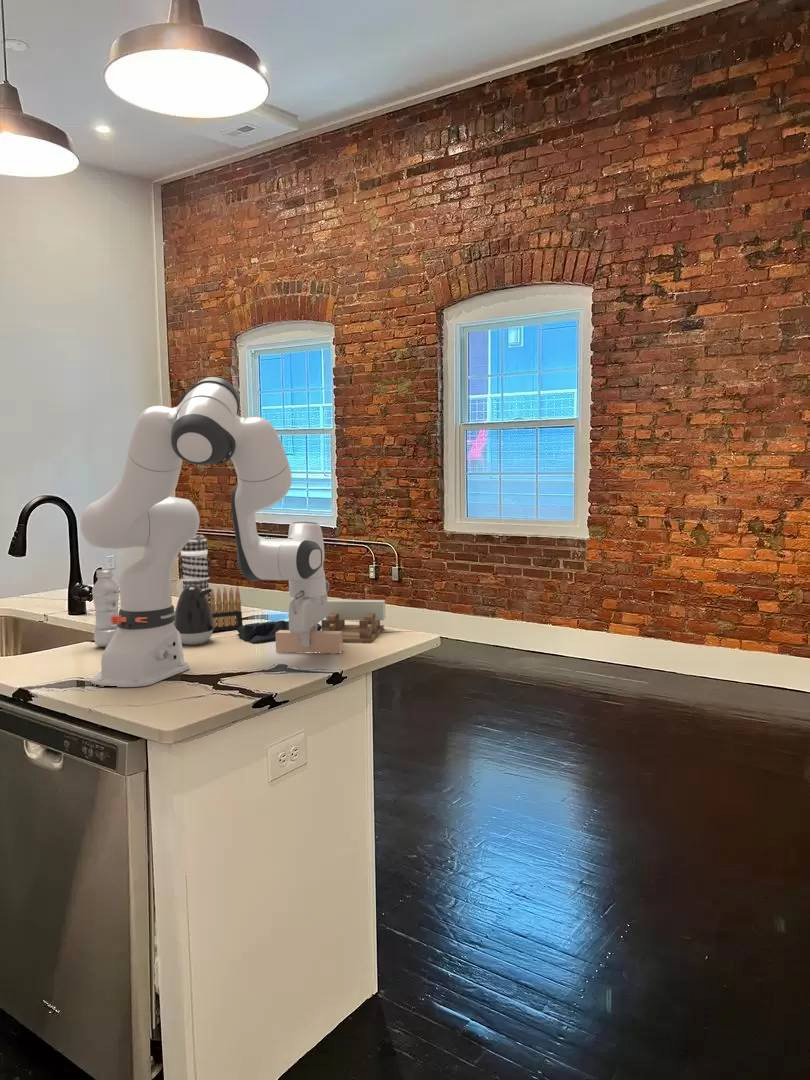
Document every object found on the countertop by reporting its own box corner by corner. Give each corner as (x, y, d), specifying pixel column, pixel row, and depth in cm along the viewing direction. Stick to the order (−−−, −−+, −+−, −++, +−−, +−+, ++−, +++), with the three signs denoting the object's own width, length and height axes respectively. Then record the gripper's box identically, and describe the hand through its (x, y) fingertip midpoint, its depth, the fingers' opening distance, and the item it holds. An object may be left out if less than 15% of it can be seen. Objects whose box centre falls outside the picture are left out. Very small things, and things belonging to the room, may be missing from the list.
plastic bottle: (94, 645, 206) (90, 569, 205) (122, 642, 209) (117, 567, 207) (94, 650, 200) (89, 572, 199) (122, 648, 203) (118, 570, 201)
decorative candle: (176, 617, 243) (172, 535, 241) (203, 612, 249) (199, 533, 247) (190, 621, 236) (186, 537, 234) (218, 616, 243) (214, 534, 240)
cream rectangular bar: (385, 618, 216) (385, 600, 215) (383, 620, 213) (382, 601, 212) (328, 617, 219) (327, 599, 218) (325, 619, 216) (325, 601, 215)
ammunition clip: (241, 627, 225) (240, 585, 224) (243, 628, 224) (241, 586, 222) (203, 631, 221) (201, 588, 220) (204, 632, 219) (202, 589, 218)
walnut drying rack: (370, 642, 202) (370, 621, 202) (317, 641, 205) (316, 620, 204) (384, 628, 219) (383, 609, 218) (334, 628, 221) (334, 608, 221)
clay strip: (342, 651, 194) (342, 631, 194) (339, 654, 191) (339, 633, 191) (280, 649, 197) (279, 630, 197) (276, 652, 194) (275, 632, 194)
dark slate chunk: (328, 636, 214) (328, 618, 213) (249, 646, 203) (248, 628, 203) (307, 626, 227) (307, 610, 227) (232, 635, 217) (231, 618, 216)
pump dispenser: (205, 648, 201) (202, 588, 199) (167, 647, 203) (164, 588, 201) (222, 639, 211) (219, 582, 209) (185, 638, 213) (183, 582, 211)
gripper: (307, 595, 182) (309, 654, 183) (330, 581, 202) (332, 635, 203) (280, 595, 183) (283, 654, 184) (306, 581, 203) (308, 634, 204)
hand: (309, 644), depth 194 cm, fingers closed on clay strip, 3 cm apart
